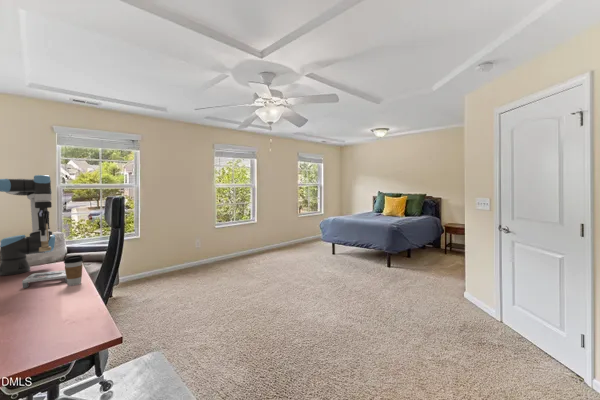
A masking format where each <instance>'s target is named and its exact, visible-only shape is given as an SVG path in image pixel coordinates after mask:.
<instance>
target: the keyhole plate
mask: <svg viewBox="0 0 600 400" xmlns="http://www.w3.org/2000/svg"><path fill="white" fill-rule="evenodd" d="M57 279H64V280H65V283H66V284H67V278H66V272H65V269H64V270H63V269H62V270H53V271H46V272H36V273H32V274H30V275H29V276H27V277H25V278H24V279H23V280H22V281H21V284H22V285H21V286H22V287H21V288H22V289H27V288H29V287H30V283H34V282H41V281H49V280H57Z"/></svg>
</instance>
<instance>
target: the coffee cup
mask: <svg viewBox="0 0 600 400" xmlns="http://www.w3.org/2000/svg"><path fill="white" fill-rule="evenodd" d="M83 262H84V259H83V255H81V254H78V255H76V254H75V255H70V256H67V257H65V258H64V260H63V264H64V270H65V272H66V278H67V283H66V284H67V286H69V287H72V286H77V285H81V284H82V275H83Z"/></svg>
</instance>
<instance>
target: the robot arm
mask: <svg viewBox="0 0 600 400" xmlns="http://www.w3.org/2000/svg"><path fill="white" fill-rule="evenodd" d="M51 184H52V179H51V176H50V175H45V174H44V175H41V174H40V175H39V174H38V175H36V174H35V175H34V176H33V178H0V192H3V193H6V194H9V195H13V196H22V197H23V196H26V197H27V199H28V200H30V212H31V213H30V214H31V230H32V231H31V232H30V233H29V236H26V235H25V234H20V235H14V236H8V237H5V238H4V237H3V238H2V239H1V240H0V276H11V275H19V274H23V273H27V272H30V271H31V266H30V264H29V261H28V259H27V255H28V256H29V255H36V254H43V253H44V254H45V253H50V252H53V251H54V250H55V243H56V234H54V233H53V232H52V231H51V230H50V229H51V227H50V211H49V210H48V209H50V208H52V207H53V205H52V186H51ZM46 224H48V244H49V247H51V250H50V251H44V252H39V248H40V247H41V241H47V230H46Z"/></svg>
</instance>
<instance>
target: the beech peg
mask: <svg viewBox="0 0 600 400" xmlns="http://www.w3.org/2000/svg"><path fill="white" fill-rule="evenodd" d="M46 230H47V241H41V247H40V248H39V252H44V251H50V250H51V247H49V244H48V224H46Z"/></svg>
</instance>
